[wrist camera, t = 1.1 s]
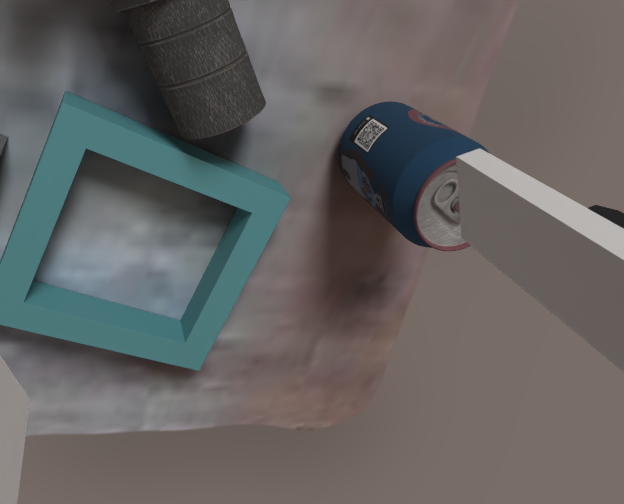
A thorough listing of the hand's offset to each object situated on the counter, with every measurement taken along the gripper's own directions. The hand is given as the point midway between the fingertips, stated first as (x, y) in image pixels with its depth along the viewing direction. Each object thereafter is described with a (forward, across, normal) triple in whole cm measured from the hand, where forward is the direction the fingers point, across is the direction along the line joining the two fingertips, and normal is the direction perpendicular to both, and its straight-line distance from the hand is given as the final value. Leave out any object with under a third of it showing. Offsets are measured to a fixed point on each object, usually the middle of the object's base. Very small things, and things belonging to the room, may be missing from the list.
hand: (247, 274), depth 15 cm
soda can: (+24, +14, -9) cm, 29 cm away
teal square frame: (+24, -5, -10) cm, 27 cm away
